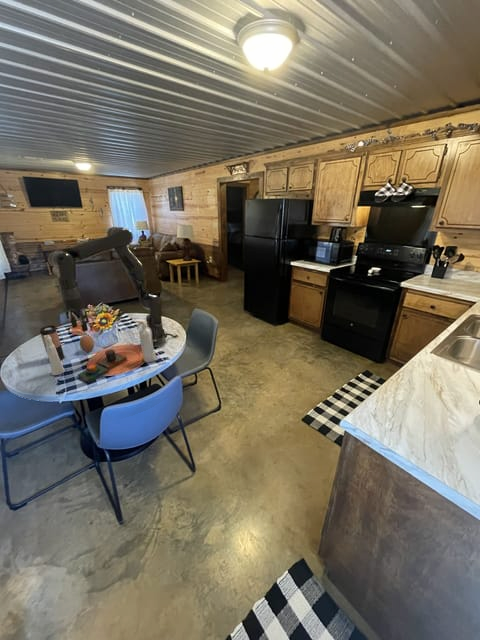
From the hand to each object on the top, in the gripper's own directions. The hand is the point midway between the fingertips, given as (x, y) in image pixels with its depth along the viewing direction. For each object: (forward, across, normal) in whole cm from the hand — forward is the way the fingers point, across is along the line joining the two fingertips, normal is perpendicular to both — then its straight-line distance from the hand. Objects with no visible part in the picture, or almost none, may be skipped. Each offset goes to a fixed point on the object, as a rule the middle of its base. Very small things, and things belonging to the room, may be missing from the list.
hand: (80, 329), depth 125 cm
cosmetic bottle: (+29, +22, +6) cm, 37 cm away
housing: (+28, +3, -2) cm, 29 cm away
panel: (+28, +5, -15) cm, 32 cm away
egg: (+29, +30, -16) cm, 45 cm away
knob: (+26, +5, -15) cm, 30 cm away
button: (+25, +3, -2) cm, 25 cm away
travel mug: (+29, +37, -1) cm, 47 cm away
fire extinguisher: (+29, -11, -28) cm, 42 cm away
